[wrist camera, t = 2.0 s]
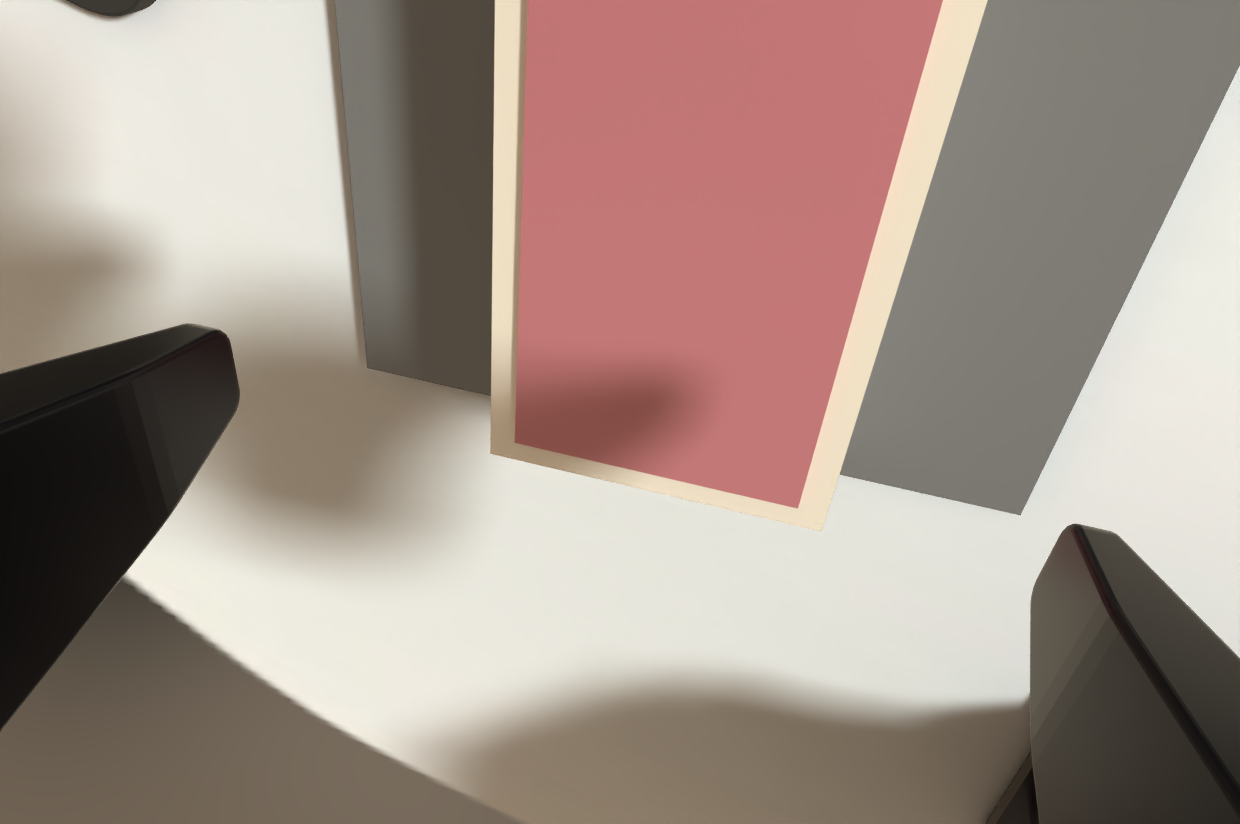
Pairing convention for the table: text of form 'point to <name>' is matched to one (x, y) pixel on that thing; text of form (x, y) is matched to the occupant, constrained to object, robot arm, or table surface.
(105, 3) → the phone
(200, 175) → the table surface
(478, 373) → the mat
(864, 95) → the card deck
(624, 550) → the table surface
